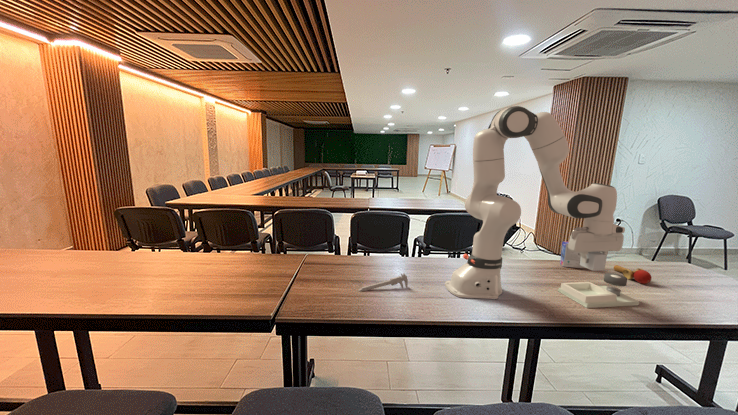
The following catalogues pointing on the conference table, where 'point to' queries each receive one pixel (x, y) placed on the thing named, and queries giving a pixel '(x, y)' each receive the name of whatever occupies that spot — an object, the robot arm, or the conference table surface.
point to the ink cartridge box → (569, 257)
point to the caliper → (387, 283)
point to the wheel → (615, 279)
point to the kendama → (635, 274)
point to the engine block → (595, 261)
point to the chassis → (596, 295)
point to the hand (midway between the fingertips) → (592, 262)
